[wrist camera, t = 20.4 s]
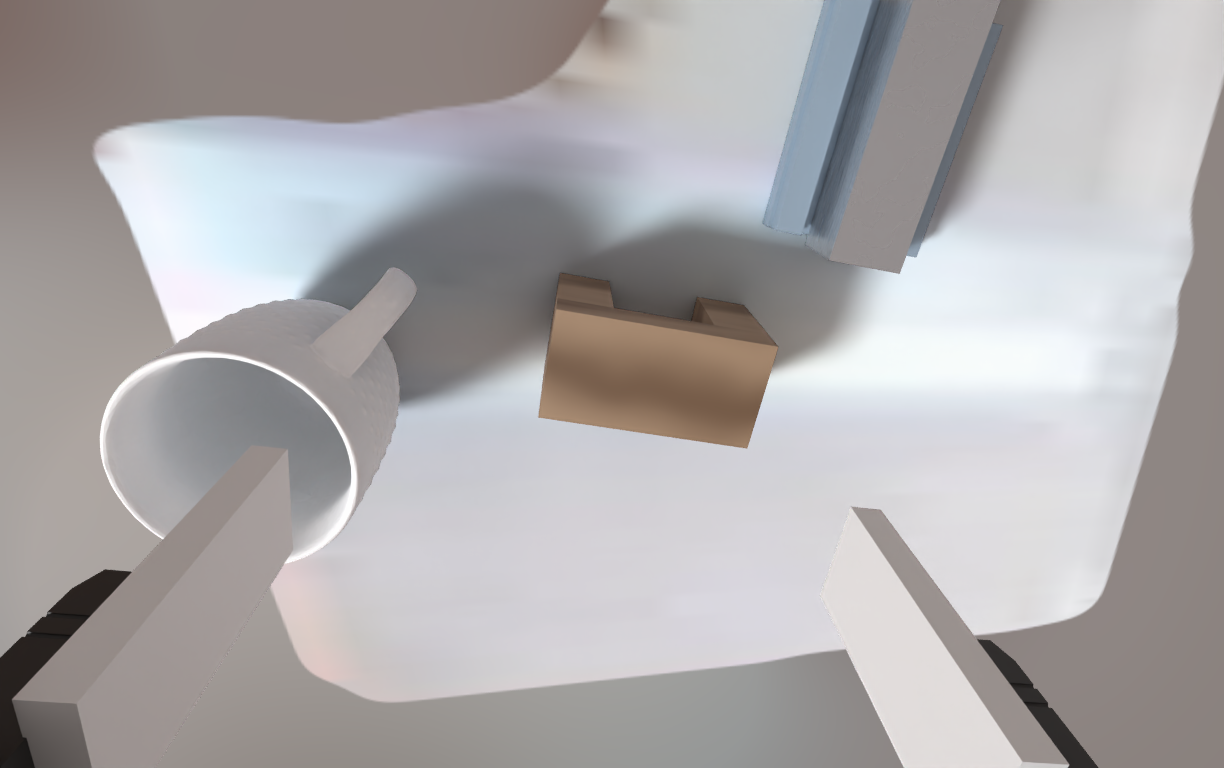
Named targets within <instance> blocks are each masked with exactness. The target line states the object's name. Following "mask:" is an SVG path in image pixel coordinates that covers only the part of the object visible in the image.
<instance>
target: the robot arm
mask: <svg viewBox="0 0 1224 768" xmlns="http://www.w3.org/2000/svg"><path fill="white" fill-rule="evenodd" d="M292 551H293V539H292V519H291V500H290V481H289V461H288V449H284V448H274V447H264V446H255V445H251V446H250V448H249V449H248V450H247V451H246V452H245V453H244V454H243V455H242V456H241V457H240V458H239V459H238V460H237V461H236V462H235V463H234V464H233V466H232V467H231V468H230V469H229V470H228V471H227V472H226V473H225V474H224V475H223V476H222V477H221V478H220V479H219V480H218V481H217V483H216V484H215V485H214V486H213V487H212V488H211V489H210V490H209V491H208V492H207V493H206V494H205V495H204V496H203V497H202V498H201V499H200V501H199V502H198V503H197V504H196V505H195V506H194V507H193V508H192V509H191V510H190V511H189V512H188V513H187V514H186V515H185V516H184V518H183V519H182V520H181V521H180V522H179V523H178V524H177V525H176V526H175V527H174V528H173V529H172V530H171V531H170V532H169V533H168V534H167V536H166V537H165V538H164V539H163V540H162V541H161V542H160V543H159V544H158V545H157V546H156V547H155V548H154V549H153V550H152V551H151V553H150V554H149V555H148V556H147V557H146V558H145V559H144V560H143V561H142V562H141V563H140V564H139V565H138V566H137V567H136V568H135V570H134V571H133V572H128V571H116V570H103V571H102V572H100V573H98V574H96V575H95V576H93V577H91V578H90V579H88V580H86V581H84V582H82V583H81V584H79V585H77V586H75V587H74V588H72V589H71V590H70V591H69V592H68V593H67V594H66V595H65V596H64V597H63V598H62V599H61V600H59V601H58V602H57V603H56V604H55V605H54V606H53V607H52V608H51V609H50V610H49V611H48V612H47V616H46V617H42V618H41V619H40V620H39V621H38V622H37V623H36V624H35V625H34V626H33V627H32V628H30V629H29V630H28V631H27V635H26V636H25V637H21V638H20V639H19V640H18V641H17V642H16V643H15V644H14V645H13V646H12V647H11V648H10V649H9V650H8V651H7V652H6V653H5V654H4V655H3V656H2V657H1V658H0V768H155V767H156V766H157V764H158V763H159V761H160V760H161V758H162V757H163V755H164V753H165V752H166V750H167V749H168V747H169V745H170V744H171V742H172V741H173V739H174V737H175V736H176V734H177V732H178V731H179V730H180V728H181V726H182V725H183V723H184V722H185V720H186V718H187V717H188V715H189V714H190V712H191V711H192V709H193V707H194V706H195V704H196V703H197V701H198V699H199V698H200V696H201V695H202V693H203V692H204V690H205V688H206V687H207V685H208V684H209V682H210V680H211V679H212V677H213V676H214V674H215V673H216V671H217V669H218V668H219V666H220V665H221V663H222V661H223V660H224V658H225V657H226V655H227V654H228V652H229V650H230V649H231V647H232V646H233V644H234V643H235V641H236V639H237V638H238V636H239V635H240V633H241V631H242V630H243V628H244V627H245V625H246V623H247V622H248V620H249V619H250V617H251V616H252V614H253V612H254V611H255V609H256V608H257V606H258V605H259V603H260V601H261V600H262V598H263V597H264V595H265V593H266V592H267V590H268V589H269V587H270V586H271V584H272V582H273V581H274V579H275V578H276V576H277V574H278V573H279V571H280V570H281V568H282V567H283V565H284V563H285V562H286V560H287V559H288V557H289V555H290V554H291V552H292ZM820 597H821V599H822V601H823V603H824V605H825V607H826V609H827V611H828V614H829V616H830V618H831V620H832V622H833V624H834V626H835V628H836V630H837V632H838V634H839V636H840V638H841V640H842V642H843V644H844V646H845V648H846V650H847V652H848V654H849V656H850V659H851V660H852V662H853V665H854V667H855V669H856V671H857V673H858V675H859V677H860V679H861V681H862V683H863V685H864V687H865V689H866V691H867V693H868V695H869V697H870V699H871V701H872V703H873V706H874V708H875V709H876V711H877V714H878V715H879V718H880V720H881V722H882V724H883V726H884V728H885V730H886V732H887V734H888V736H889V738H890V740H891V742H892V744H893V746H894V748H895V750H896V752H897V755H898V756H899V759H900V761H901V763H902V765H903V767H904V768H1098V767H1097V765H1096V764H1095V763H1094V761H1093V760H1092V759H1091V758H1090V756H1089V755H1088V754H1087V752H1086V751H1085V750H1084V749H1083V747H1082V746H1081V745H1080V743H1079V742H1078V741H1077V740H1076V738H1075V737H1074V736H1073V734H1072V733H1071V732H1070V731H1069V729H1068V728H1067V727H1066V726H1065V724H1064V723H1063V722H1062V721H1061V719H1060V718H1059V717H1058V715H1057V714H1056V713H1055V712H1054V710H1053V709H1052V708H1049V707H1048V702H1047V701H1046V700H1045V699H1044V697H1043V696H1042V695H1041V693H1040V692H1039V691H1038V690H1037V689H1034V688H1033V683H1032V682H1031V681H1030V679H1029V678H1028V677H1027V676H1026V674H1025V673H1024V672H1023V670H1022V669H1021V668H1020V667H1019V665H1018V664H1017V663H1016V661H1014V660H1013V659H1012V658H1011V657H1010V656H1008V655H1007V654H1006V653H1004V651H1002V650H1001V649H1000V648H999V647H998V646H996V645H995V644H994V643H993V642H991V641H990V640H978V639H976V638H975V636H974V635H973V634H972V632H971V631H970V630H969V628H968V627H967V626H966V624H965V623H964V622H963V620H962V619H961V618H960V616H959V615H958V613H957V612H956V611H955V609H954V608H953V607H952V605H951V604H950V603H949V601H948V600H947V599H946V597H945V596H944V595H943V593H942V592H941V591H940V589H939V588H938V586H937V585H936V584H935V582H934V581H933V580H932V578H931V577H930V576H929V574H928V573H927V572H926V570H925V569H924V568H923V566H922V565H921V564H920V562H919V561H918V559H917V558H916V557H915V555H914V554H913V553H912V551H911V550H910V549H909V547H908V546H907V545H906V543H905V542H904V541H903V539H902V538H901V537H900V535H899V534H898V532H897V531H896V530H895V528H894V527H893V526H892V524H891V523H890V522H889V520H888V519H887V518H886V516H885V515H884V514H883V512H882V511H881V510H878V509H868V508H858V507H851V508H850V511H849V514H848V516H847V519H846V522H845V525H844V528H843V531H842V534H841V537H840V539H839V542H838V545H837V548H836V551H835V554H834V557H833V559H832V562H831V565H830V568H829V571H828V574H827V577H826V579H825V582H824V585H823V588H822V591H821V594H820Z"/></svg>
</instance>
